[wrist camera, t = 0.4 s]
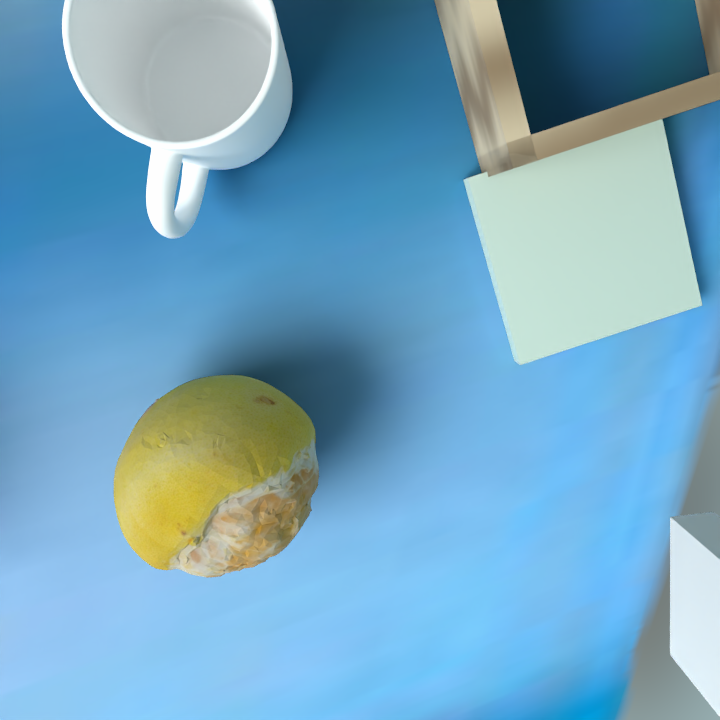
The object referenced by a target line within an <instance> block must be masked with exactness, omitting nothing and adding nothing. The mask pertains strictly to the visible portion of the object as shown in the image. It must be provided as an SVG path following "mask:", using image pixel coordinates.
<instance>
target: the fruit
mask: <svg viewBox="0 0 720 720" xmlns="http://www.w3.org/2000/svg"><path fill="white" fill-rule="evenodd" d="M315 443H316V438H315V428H314V425H313V423H312V421H311V419H310V418H309V416H308V415H307V414H306V412H305V411H304V410H303V409H302V408H301V407H300V406H299V405H298V404H297V403H295V402H294V401H293V400H292V399H291V398H290V397H288V396H287V395H286V394H284V393H282V392H281V391H279V390H278V389H276V388H274V387H273V386H271V385H269V384H267V383H265V382H263V381H261V380H258V379H255V378H251V377H247V376H242V375H218V376H208V377H203V378H199V379H195V380H192V381H189V382H186V383H184V384H182V385H180V386H178V387H177V388H175V389H173V390H172V391H170V392H168V393H167V394H165V395H164V396H162V397H161V398H160V399H157V400H156V401H155V402H154V403H153V404H152V405H151V406H150V407H149V408H148V409H147V410H146V411H145V413H144V414H143V415H142V416H141V418H140V419H139V420H138V422H137V424H136V425H135V427H134V429H133V431H132V432H131V434H130V436H129V438H128V440H127V442H126V444H125V446H124V448H123V450H122V453H121V455H120V457H119V459H118V462H117V465H116V469H115V476H114V502H115V508H116V513H117V517H118V521H119V524H120V527H121V530H122V532H123V534H124V536H125V538H126V540H127V542H128V543H129V545H130V546H131V547H132V549H133V550H134V551H135V552H136V553H137V554H138V555H139V556H140V557H141V558H142V559H143V560H144V561H145V562H147V563H148V564H149V565H151V566H153V567H154V568H157V569H162V570H172V569H180V570H183V571H185V572H187V573H189V574H192V575H197V576H204V577H217V576H222V575H223V574H225V573H230V572H233V571H240V570H242V569H243V568H250V567H255V566H256V565H258V564H260V563H262V562H265V561H266V560H267V559H268V558H269V557H272V556H275V555H277V554H278V553H280V552H281V551H282V550H283V549H284V548H286V547H287V546H288V544H289V543H290V542H291V541H292V539H293V538H294V537H295V536H296V534H297V533H298V531H299V530H300V528H301V527H302V526H303V524H304V522H305V520H306V519H307V517H308V516H309V513H310V511H312V510H311V506H310V503H311V497H312V495H313V493H314V492H315V490H316V488H317V486H318V479H319V465H318V460H317V456H316V448H315Z"/></svg>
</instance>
